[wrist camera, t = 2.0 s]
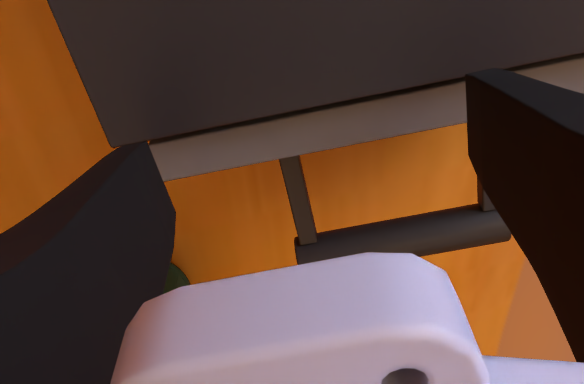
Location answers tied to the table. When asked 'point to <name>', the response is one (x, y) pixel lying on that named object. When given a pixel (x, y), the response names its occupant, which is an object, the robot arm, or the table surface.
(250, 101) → the drawer cabinet
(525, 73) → the dish drawer
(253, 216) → the table surface
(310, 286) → the robot arm
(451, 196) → the table surface
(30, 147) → the table surface
